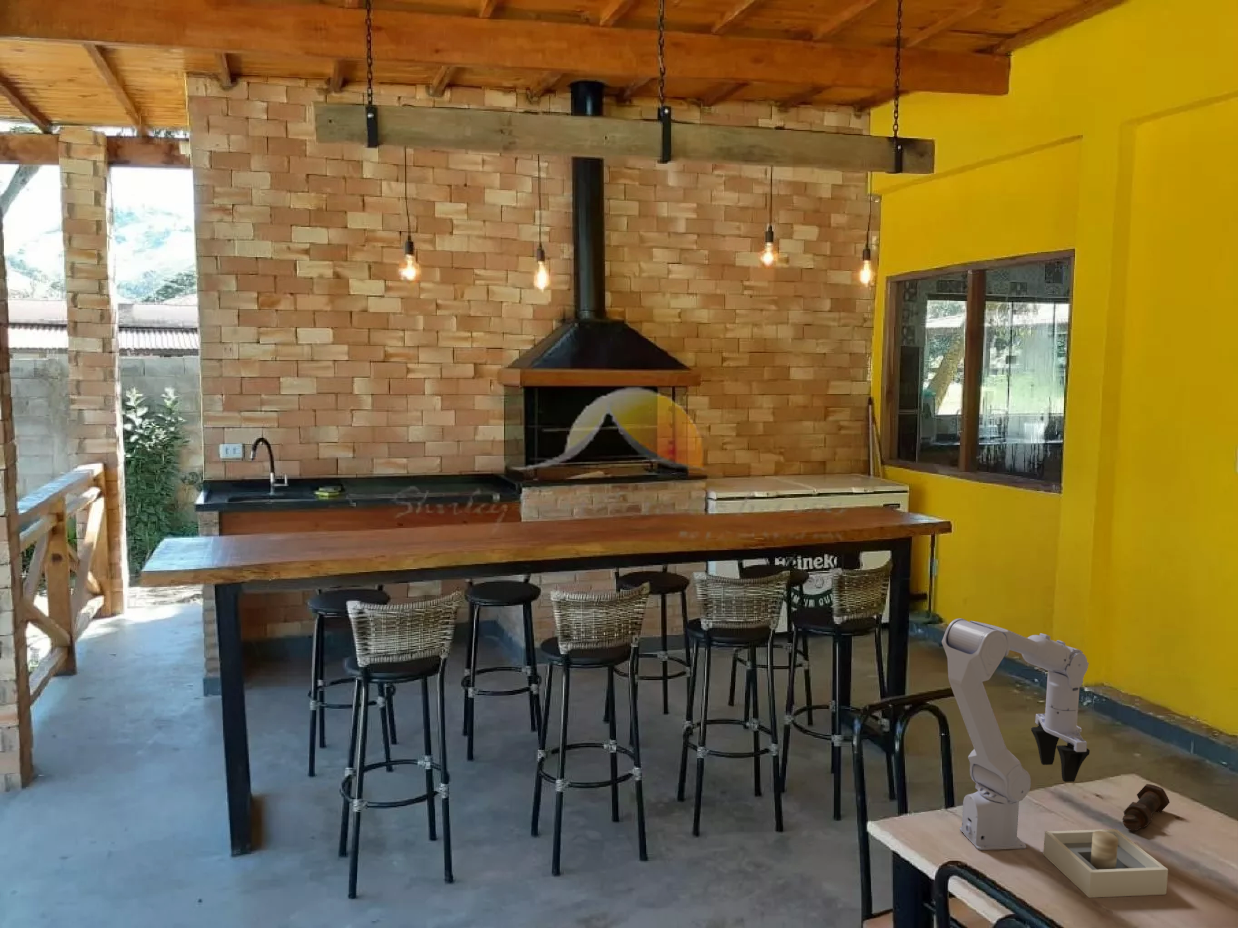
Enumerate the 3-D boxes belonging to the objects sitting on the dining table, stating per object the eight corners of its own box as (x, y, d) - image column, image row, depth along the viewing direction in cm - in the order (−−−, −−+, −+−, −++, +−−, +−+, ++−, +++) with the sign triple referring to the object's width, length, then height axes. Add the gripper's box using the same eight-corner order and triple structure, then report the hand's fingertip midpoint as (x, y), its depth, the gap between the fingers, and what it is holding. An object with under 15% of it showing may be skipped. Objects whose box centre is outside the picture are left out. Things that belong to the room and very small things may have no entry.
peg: (1098, 880, 161) (1101, 842, 160) (1085, 868, 165) (1087, 831, 164) (1120, 879, 162) (1123, 841, 161) (1106, 867, 165) (1108, 830, 165)
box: (1088, 897, 156) (1090, 872, 155) (1043, 854, 170) (1044, 831, 169) (1166, 894, 157) (1168, 869, 157) (1114, 852, 171) (1116, 828, 171)
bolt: (1125, 840, 179) (1149, 813, 190) (1150, 836, 176) (1174, 808, 186) (1110, 810, 181) (1135, 785, 191) (1135, 806, 177) (1159, 780, 188)
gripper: (1103, 719, 173) (1099, 788, 174) (1060, 692, 187) (1056, 756, 188) (1068, 719, 172) (1063, 789, 173) (1027, 693, 186) (1023, 757, 188)
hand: (1057, 772), depth 181 cm, fingers open, 7 cm apart
